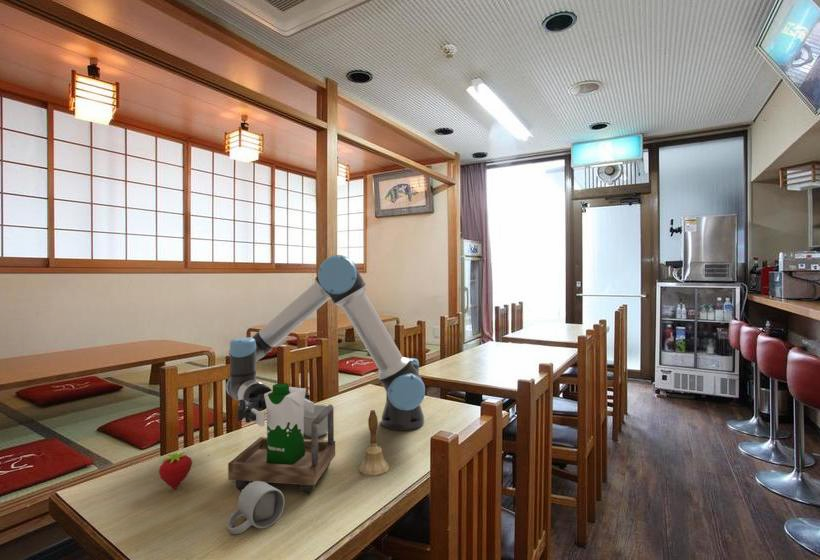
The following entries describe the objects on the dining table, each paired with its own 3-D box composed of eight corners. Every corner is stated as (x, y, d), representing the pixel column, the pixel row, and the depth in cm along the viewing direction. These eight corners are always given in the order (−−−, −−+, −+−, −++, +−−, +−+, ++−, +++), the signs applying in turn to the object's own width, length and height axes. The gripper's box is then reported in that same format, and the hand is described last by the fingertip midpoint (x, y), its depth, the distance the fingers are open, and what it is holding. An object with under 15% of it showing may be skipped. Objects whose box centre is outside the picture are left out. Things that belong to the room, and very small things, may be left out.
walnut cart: (336, 465, 112) (335, 402, 112) (315, 497, 96) (314, 423, 96) (260, 461, 115) (259, 399, 115) (228, 491, 99) (227, 419, 99)
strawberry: (197, 484, 103) (197, 445, 102) (166, 498, 96) (166, 457, 96) (184, 478, 106) (184, 440, 106) (154, 491, 99) (153, 451, 99)
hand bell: (364, 478, 105) (364, 417, 105) (355, 465, 113) (354, 408, 113) (393, 471, 109) (393, 413, 109) (382, 459, 116) (382, 404, 116)
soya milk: (261, 464, 103) (260, 386, 102) (282, 449, 111) (281, 377, 111) (290, 469, 100) (289, 389, 100) (310, 453, 109) (309, 379, 108)
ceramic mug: (266, 504, 94) (265, 471, 94) (285, 518, 88) (284, 484, 88) (220, 526, 86) (219, 491, 86) (237, 543, 81) (236, 505, 80)
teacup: (336, 428, 140) (336, 405, 140) (326, 441, 129) (326, 416, 129) (297, 426, 141) (297, 403, 141) (284, 439, 130) (284, 414, 130)
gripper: (295, 399, 128) (331, 416, 112) (210, 418, 111) (239, 442, 95) (294, 375, 128) (331, 389, 112) (210, 391, 111) (239, 410, 95)
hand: (289, 414), depth 104 cm, fingers open, 13 cm apart
